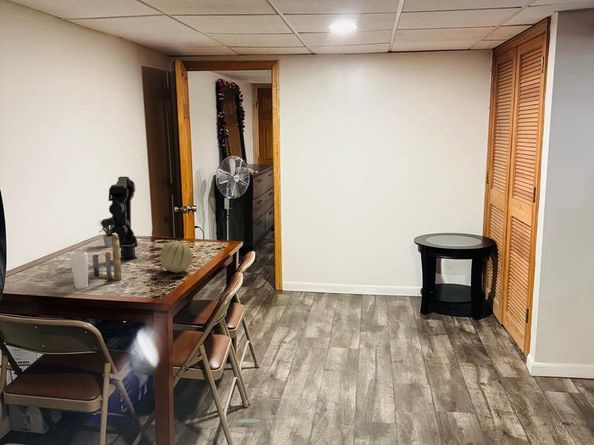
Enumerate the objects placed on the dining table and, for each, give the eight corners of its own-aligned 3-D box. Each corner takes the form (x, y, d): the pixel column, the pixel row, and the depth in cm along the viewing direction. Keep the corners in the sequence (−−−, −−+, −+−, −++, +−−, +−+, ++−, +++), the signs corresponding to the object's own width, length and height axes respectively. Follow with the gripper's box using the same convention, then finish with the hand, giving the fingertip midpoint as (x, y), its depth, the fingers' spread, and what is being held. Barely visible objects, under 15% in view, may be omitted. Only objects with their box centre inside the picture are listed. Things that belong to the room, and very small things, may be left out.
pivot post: (97, 274, 241) (96, 253, 239) (104, 276, 238) (102, 255, 237) (89, 276, 237) (87, 255, 235) (95, 278, 235) (94, 257, 233)
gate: (97, 277, 236) (94, 233, 232) (102, 275, 238) (99, 232, 235) (118, 280, 231) (115, 236, 227) (123, 278, 234) (120, 234, 230)
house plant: (88, 248, 289) (86, 219, 286) (104, 242, 302) (102, 214, 299) (110, 250, 285) (108, 220, 282) (125, 244, 298) (124, 216, 295)
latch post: (110, 280, 233) (108, 250, 230) (116, 281, 230) (114, 251, 228) (102, 282, 229) (100, 252, 227) (108, 284, 227) (106, 253, 224)
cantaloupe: (154, 272, 244) (152, 241, 241) (177, 265, 256) (176, 235, 253) (176, 278, 236) (175, 246, 233) (199, 270, 248) (198, 239, 245)
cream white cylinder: (76, 285, 226) (73, 251, 223) (92, 284, 226) (89, 251, 223) (70, 290, 219) (67, 255, 216) (87, 289, 220) (84, 255, 217)
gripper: (104, 209, 253) (106, 240, 256) (98, 215, 235) (100, 249, 238) (128, 208, 255) (130, 239, 258) (124, 215, 238) (126, 248, 241)
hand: (121, 243), depth 249 cm, fingers closed
